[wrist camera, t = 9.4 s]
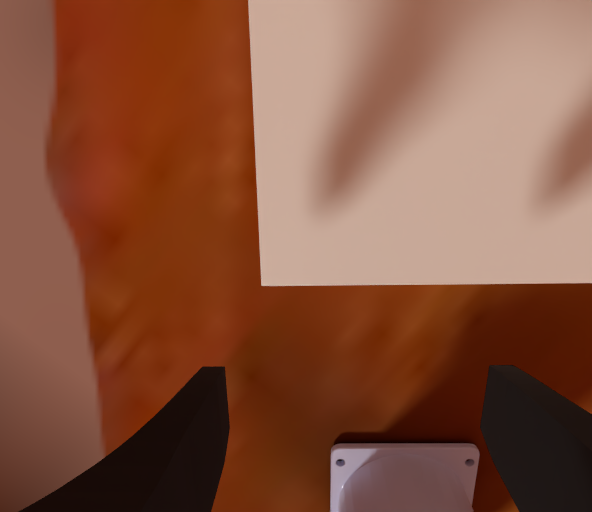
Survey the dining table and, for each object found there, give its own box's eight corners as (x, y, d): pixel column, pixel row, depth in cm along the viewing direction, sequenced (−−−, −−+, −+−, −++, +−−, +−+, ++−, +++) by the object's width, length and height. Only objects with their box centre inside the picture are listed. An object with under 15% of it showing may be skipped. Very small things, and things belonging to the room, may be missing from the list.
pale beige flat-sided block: (747, 247, 20) (850, 280, 16) (269, 252, 21) (261, 285, 17) (832, -1, 17) (985, -30, 13) (259, 12, 17) (247, -14, 13)
